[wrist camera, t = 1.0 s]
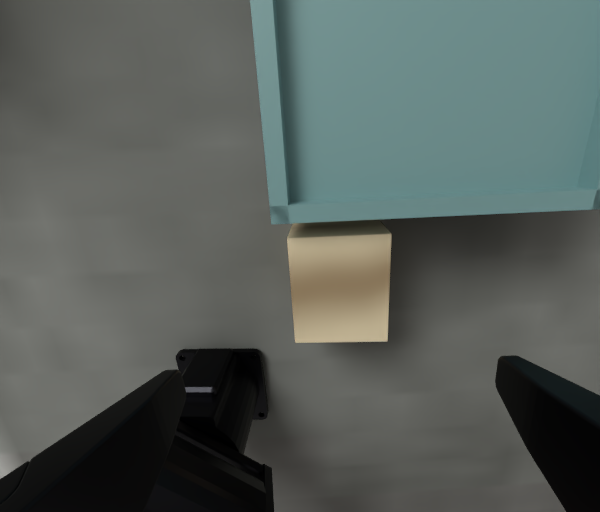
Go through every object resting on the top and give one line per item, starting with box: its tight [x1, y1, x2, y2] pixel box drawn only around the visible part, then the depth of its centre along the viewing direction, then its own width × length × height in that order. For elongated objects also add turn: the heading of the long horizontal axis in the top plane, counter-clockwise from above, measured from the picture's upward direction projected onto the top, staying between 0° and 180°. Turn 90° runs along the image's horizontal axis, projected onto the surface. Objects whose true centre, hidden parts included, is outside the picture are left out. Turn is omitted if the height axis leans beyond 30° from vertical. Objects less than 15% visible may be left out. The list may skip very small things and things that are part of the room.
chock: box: [287, 219, 391, 343], centre depth 18 cm, size 6×5×5 cm
